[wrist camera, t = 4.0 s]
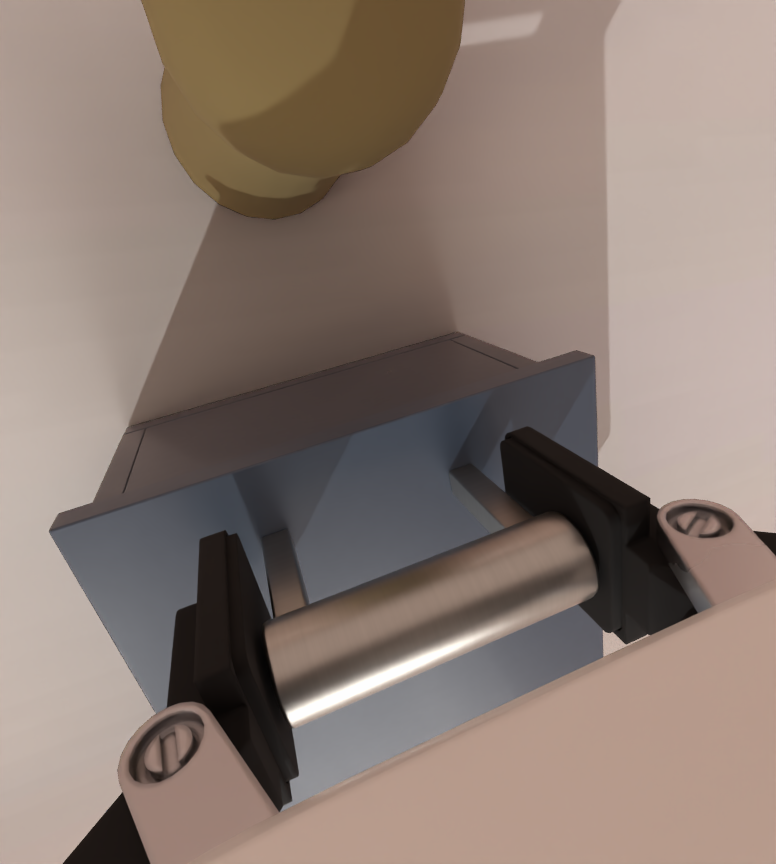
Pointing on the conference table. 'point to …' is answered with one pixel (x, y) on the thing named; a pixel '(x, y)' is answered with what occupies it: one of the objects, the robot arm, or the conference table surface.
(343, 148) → the cork
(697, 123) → the conference table surface
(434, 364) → the dark grey bin
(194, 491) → the box lid with handle
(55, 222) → the conference table surface
